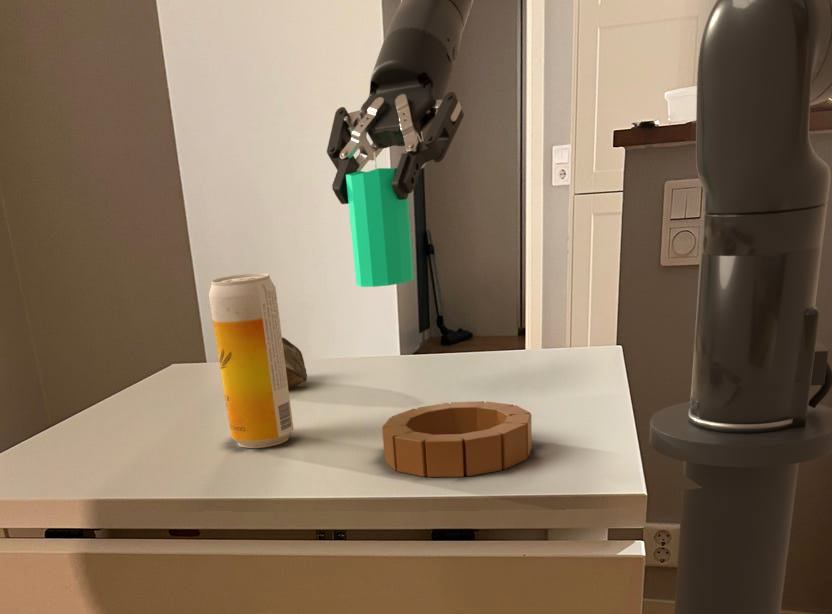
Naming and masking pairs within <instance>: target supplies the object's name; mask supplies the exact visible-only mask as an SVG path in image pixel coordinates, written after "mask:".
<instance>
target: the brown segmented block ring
mask: <svg viewBox="0 0 832 614" xmlns="http://www.w3.org/2000/svg"><path fill="white" fill-rule="evenodd" d="M532 429H533V428H532V413H531V412H530V411H529V410H526V409H524V408H522V407H521V406H519V405H517V404H516V405H514V404H510V403H503V402H495V401H482V400H481V401H479V400H478V401H453V402H452V401H451V402H450V403H449V402H444V403H438V404H432V405H425V406H419V407H416V408H411V409H409V410H406V411H402V412H401V413H398V414H395V415H392V416H391V417H389V418H388V419H387V421H386V422H385V423H384V424H383V425H382V426H381V431H382V432H381V433H382V441H383V442H382V443H383V454H384V456H383V457H384V462H385V463H386V464H387V465H388V466H390V468H391V469H392V470H394V471H396V472H399V473H403V474H409V475H413V476H418V477H422V478H423V477H428V478H454V477H455V478H462V477H463V478H464V476H467V477H472V476H477V475H478V476H479V475H482V474H483V475H484V474H489V473H493V472H499V471H502V469H503V470H507V469H509V468H511V467H513V466H515V465H518V464H520V463H522V462H524V461H527V460H528V458H529V457H530V453H531V450H532V448H533V441H532V440H533V439H532V438H533V437H532V432H533V431H532Z"/></svg>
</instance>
